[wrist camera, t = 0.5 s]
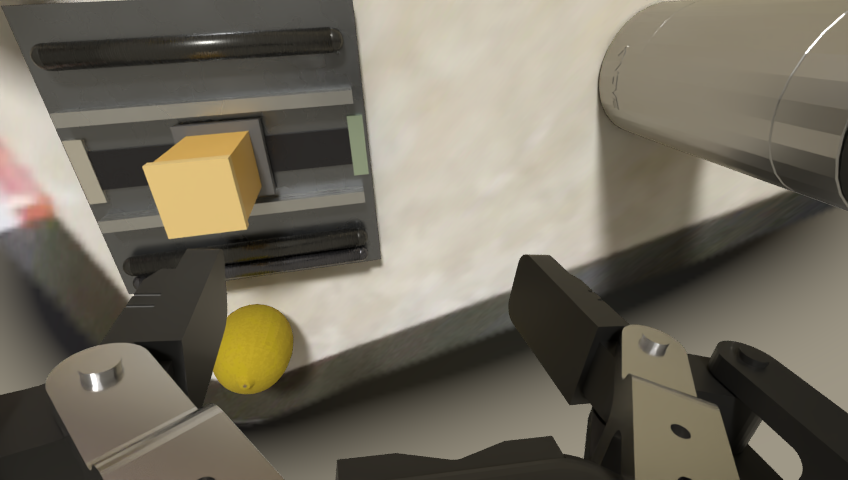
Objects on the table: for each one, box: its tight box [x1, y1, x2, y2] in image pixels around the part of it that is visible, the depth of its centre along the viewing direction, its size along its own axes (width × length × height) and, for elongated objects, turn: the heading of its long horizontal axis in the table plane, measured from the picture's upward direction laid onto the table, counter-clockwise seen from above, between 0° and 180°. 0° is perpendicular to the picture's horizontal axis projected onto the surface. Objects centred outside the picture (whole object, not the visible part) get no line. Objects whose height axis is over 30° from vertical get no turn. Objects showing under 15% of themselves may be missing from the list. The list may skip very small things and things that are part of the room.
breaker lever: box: [142, 117, 276, 239], centre depth 24 cm, size 5×5×7 cm
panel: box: [1, 0, 381, 294], centre depth 28 cm, size 18×18×3 cm
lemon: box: [213, 304, 293, 394], centre depth 31 cm, size 6×6×8 cm
